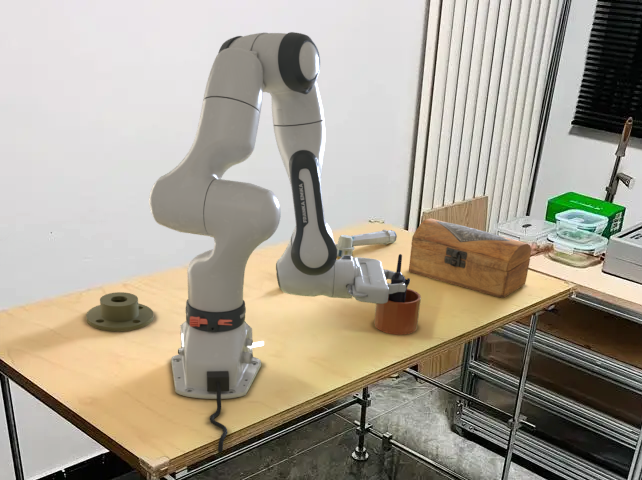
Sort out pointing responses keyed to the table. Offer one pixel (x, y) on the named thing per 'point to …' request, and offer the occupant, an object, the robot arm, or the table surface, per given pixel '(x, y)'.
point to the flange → (119, 313)
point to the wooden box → (469, 258)
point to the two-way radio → (401, 279)
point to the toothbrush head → (363, 241)
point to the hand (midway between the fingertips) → (403, 282)
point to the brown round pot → (398, 315)
